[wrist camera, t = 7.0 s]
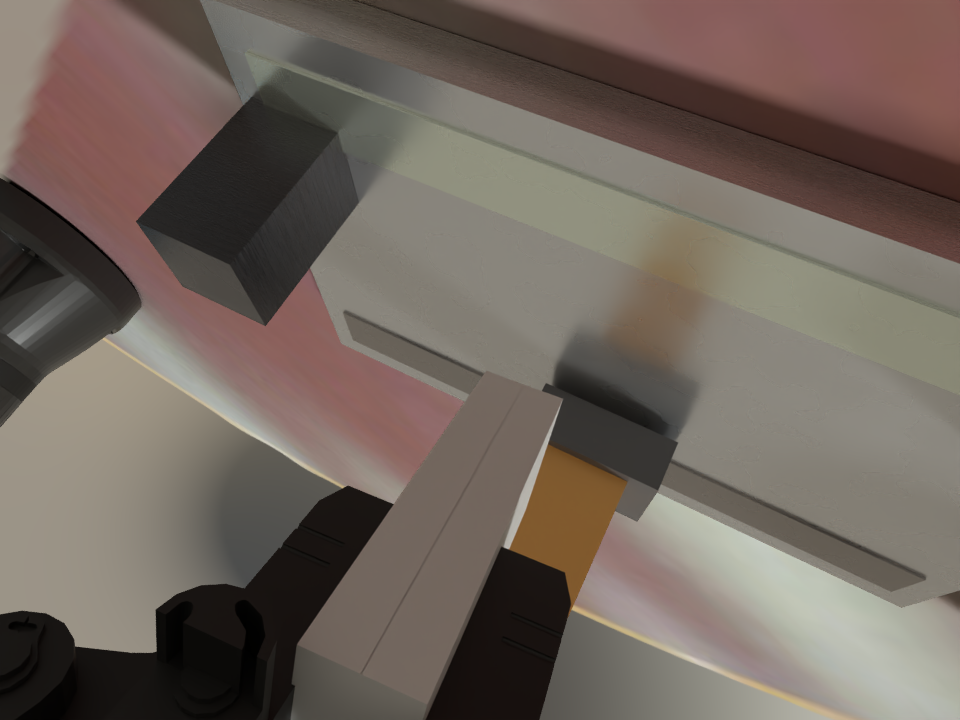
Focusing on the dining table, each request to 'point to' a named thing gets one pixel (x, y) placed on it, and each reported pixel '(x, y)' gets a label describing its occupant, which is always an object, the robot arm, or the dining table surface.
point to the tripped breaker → (588, 485)
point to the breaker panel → (598, 271)
